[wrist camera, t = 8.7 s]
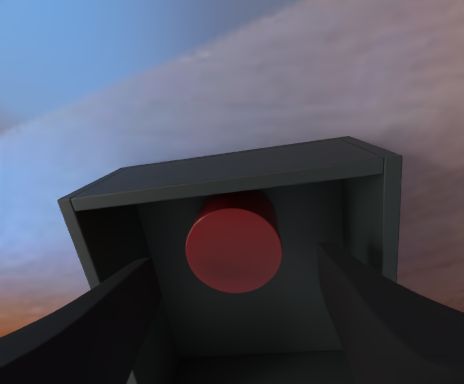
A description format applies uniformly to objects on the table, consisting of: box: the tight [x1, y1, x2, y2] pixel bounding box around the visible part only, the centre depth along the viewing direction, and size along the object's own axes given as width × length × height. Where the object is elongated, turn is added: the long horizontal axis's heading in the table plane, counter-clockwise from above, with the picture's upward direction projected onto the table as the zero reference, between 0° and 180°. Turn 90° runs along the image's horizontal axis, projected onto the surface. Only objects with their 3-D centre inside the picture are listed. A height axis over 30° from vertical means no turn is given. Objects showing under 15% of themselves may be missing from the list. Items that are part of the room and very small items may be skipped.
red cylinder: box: [186, 189, 283, 293], centre depth 14 cm, size 5×5×4 cm
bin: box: [58, 136, 402, 384], centre depth 15 cm, size 13×15×6 cm
